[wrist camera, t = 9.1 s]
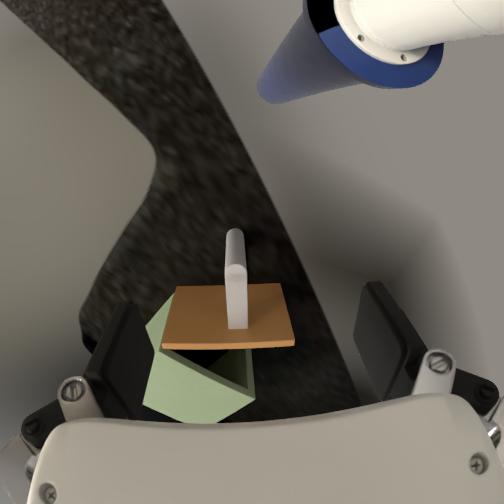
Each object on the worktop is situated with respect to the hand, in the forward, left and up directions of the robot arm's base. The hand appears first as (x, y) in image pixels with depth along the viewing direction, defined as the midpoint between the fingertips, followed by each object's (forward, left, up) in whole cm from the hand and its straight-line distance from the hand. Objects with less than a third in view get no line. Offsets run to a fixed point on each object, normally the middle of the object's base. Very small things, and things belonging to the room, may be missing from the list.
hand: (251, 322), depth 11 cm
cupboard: (+19, +8, -22) cm, 30 cm away
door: (+7, +4, -22) cm, 23 cm away
